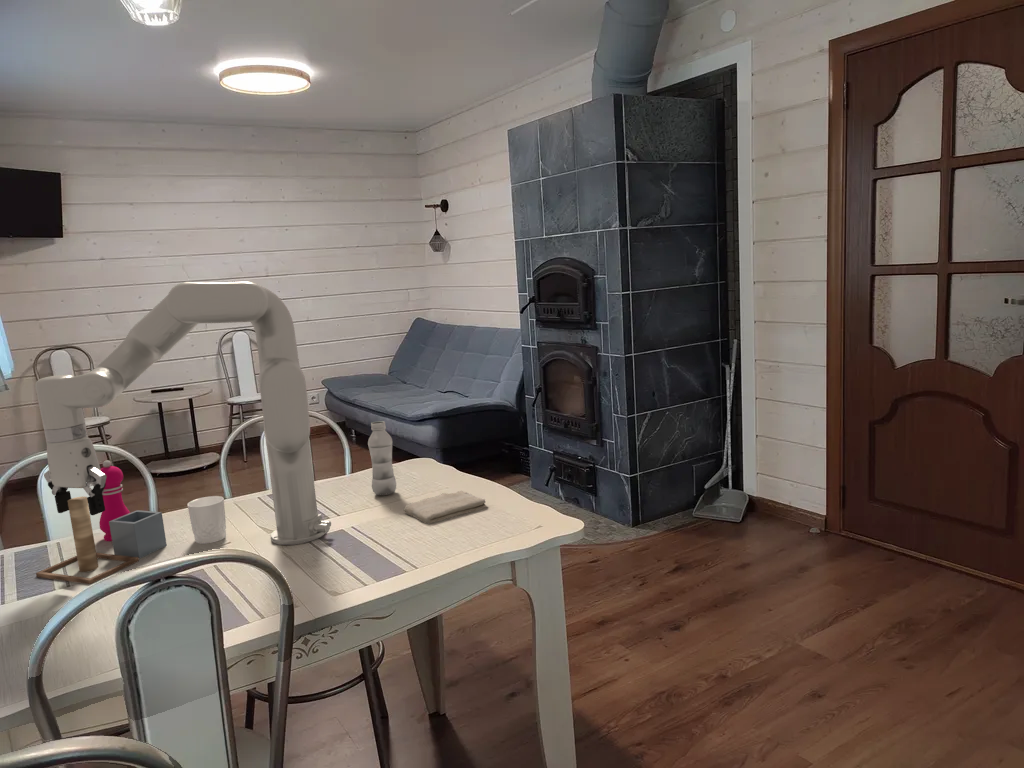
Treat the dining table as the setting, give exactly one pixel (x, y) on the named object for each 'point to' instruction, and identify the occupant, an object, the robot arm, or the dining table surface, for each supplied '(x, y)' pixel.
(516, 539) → the dining table surface
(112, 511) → the pepper mill
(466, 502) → the washcloth
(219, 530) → the white cup
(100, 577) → the tray
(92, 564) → the dowel
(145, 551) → the grey hollow box
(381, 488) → the plastic bottle
